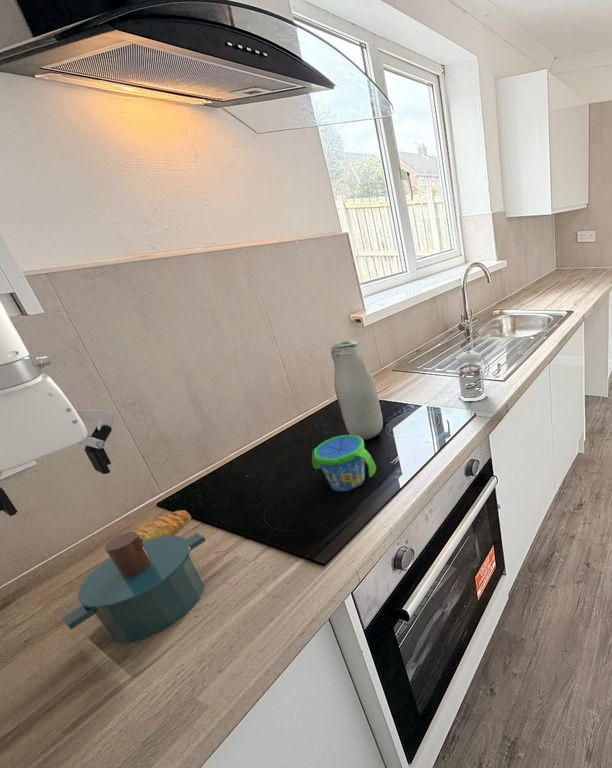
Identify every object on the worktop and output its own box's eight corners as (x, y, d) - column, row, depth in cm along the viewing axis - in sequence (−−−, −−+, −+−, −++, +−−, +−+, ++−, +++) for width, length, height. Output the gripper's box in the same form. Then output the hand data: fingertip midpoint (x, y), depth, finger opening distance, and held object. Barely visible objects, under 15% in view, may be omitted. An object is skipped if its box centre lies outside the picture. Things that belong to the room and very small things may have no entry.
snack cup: (390, 476, 98) (382, 439, 94) (359, 504, 89) (348, 465, 85) (340, 465, 104) (330, 429, 100) (306, 490, 95) (294, 452, 91)
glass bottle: (373, 424, 122) (352, 333, 111) (392, 434, 116) (372, 339, 105) (342, 438, 116) (316, 343, 105) (360, 450, 109) (335, 350, 98)
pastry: (180, 514, 90) (173, 500, 88) (200, 521, 88) (193, 506, 86) (130, 545, 82) (122, 530, 81) (151, 553, 80) (142, 538, 78)
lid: (64, 592, 62) (41, 559, 60) (165, 531, 73) (150, 501, 71) (106, 626, 56) (83, 591, 54) (209, 554, 67) (194, 523, 65)
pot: (72, 641, 63) (43, 602, 60) (196, 556, 78) (179, 521, 75) (110, 676, 58) (81, 635, 55) (236, 578, 73) (219, 541, 69)
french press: (452, 395, 138) (442, 322, 128) (481, 385, 144) (474, 315, 134) (468, 405, 130) (458, 328, 120) (498, 394, 136) (491, 320, 126)
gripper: (72, 352, 59) (122, 453, 66) (-135, 401, 45) (-45, 523, 52) (96, 358, 56) (146, 463, 63) (-119, 412, 42) (-25, 540, 49)
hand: (60, 490), depth 58 cm, fingers open, 9 cm apart
